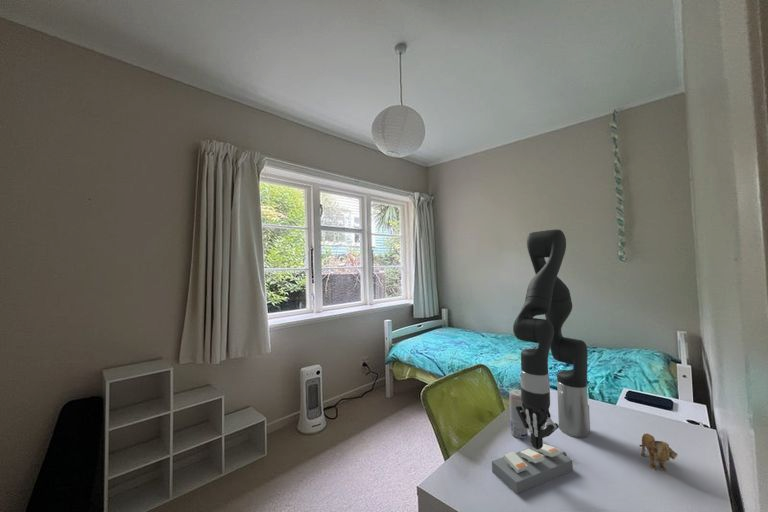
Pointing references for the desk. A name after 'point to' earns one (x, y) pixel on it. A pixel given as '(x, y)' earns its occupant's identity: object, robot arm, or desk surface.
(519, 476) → the rocker switch panel
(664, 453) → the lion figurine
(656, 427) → the desk surface
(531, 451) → the rocker middle
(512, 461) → the block
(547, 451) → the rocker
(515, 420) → the beverage can
